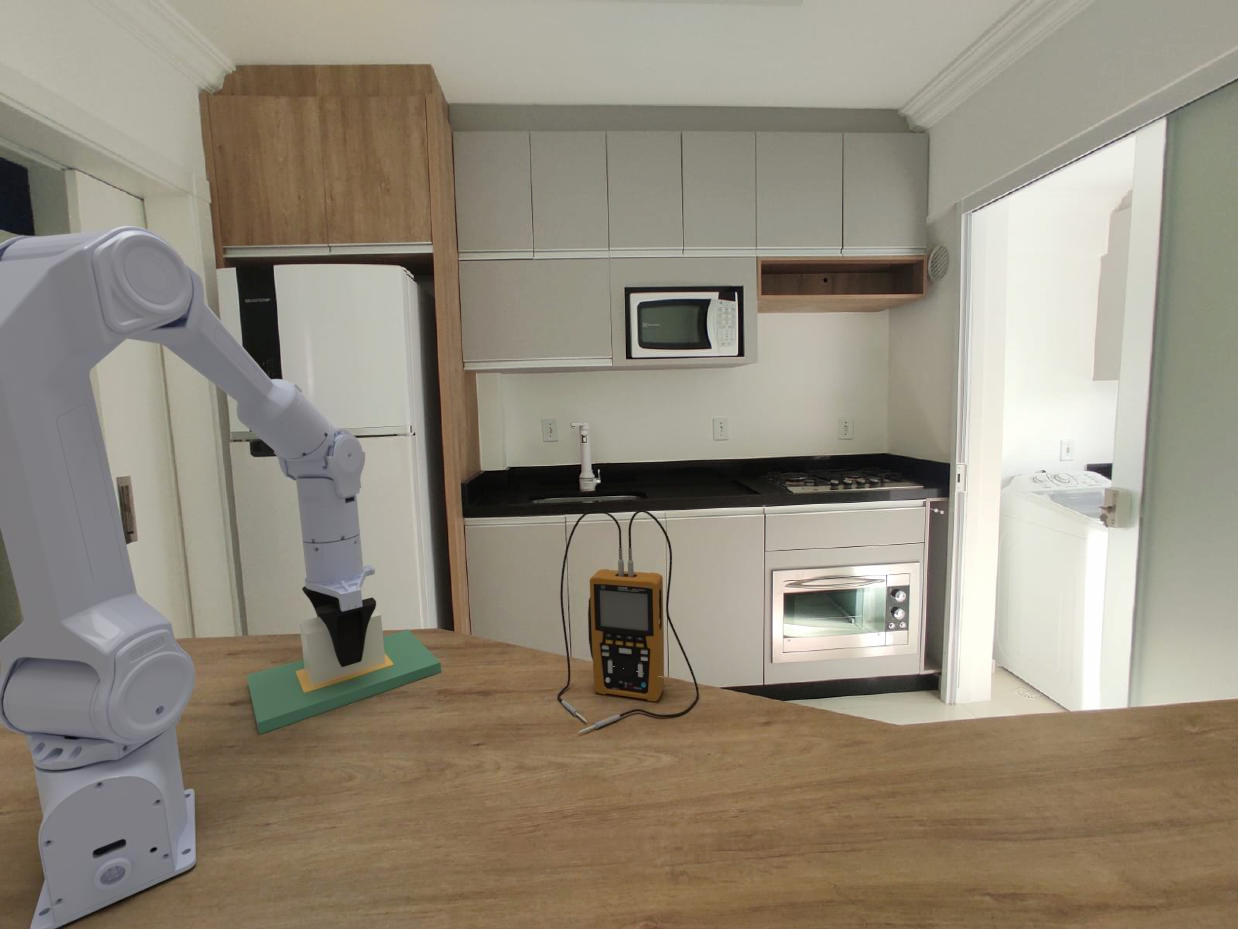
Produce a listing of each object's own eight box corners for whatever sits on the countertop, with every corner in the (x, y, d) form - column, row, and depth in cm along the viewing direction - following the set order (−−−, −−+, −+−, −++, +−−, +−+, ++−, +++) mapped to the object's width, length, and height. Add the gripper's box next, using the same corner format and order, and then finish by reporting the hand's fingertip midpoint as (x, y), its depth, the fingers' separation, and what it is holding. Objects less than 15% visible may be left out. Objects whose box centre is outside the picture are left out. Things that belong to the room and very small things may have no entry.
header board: (441, 671, 64) (438, 642, 63) (259, 734, 53) (254, 699, 52) (408, 638, 73) (406, 611, 73) (248, 685, 62) (244, 654, 62)
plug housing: (385, 663, 63) (381, 614, 63) (312, 687, 59) (306, 634, 58) (375, 650, 67) (370, 604, 66) (304, 671, 62) (299, 621, 61)
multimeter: (532, 729, 52) (521, 527, 50) (571, 677, 62) (564, 505, 59) (682, 755, 48) (679, 535, 45) (700, 694, 57) (698, 510, 55)
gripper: (387, 542, 58) (398, 663, 59) (354, 520, 69) (364, 622, 71) (312, 556, 53) (326, 686, 55) (290, 529, 65) (302, 638, 66)
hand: (343, 651), depth 63 cm, fingers open, 7 cm apart
